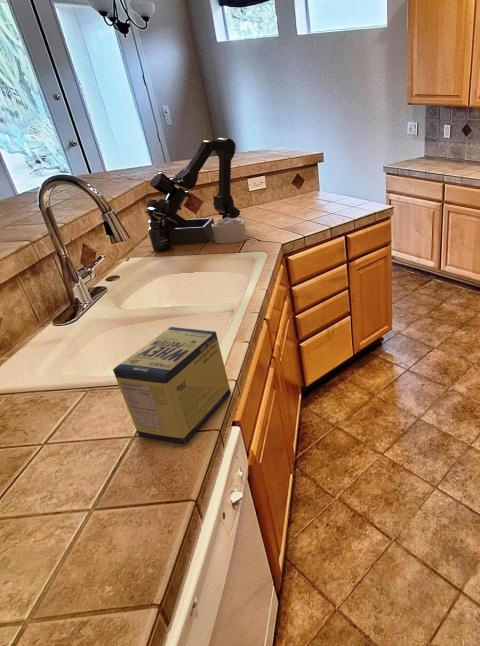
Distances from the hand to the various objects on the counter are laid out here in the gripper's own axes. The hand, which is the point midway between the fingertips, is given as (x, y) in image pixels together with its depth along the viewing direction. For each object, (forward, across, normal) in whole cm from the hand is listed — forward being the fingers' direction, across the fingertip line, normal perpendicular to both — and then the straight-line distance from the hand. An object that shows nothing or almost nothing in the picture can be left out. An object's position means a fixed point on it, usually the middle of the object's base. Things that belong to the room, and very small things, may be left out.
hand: (155, 235), depth 171 cm
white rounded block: (-12, +13, +22) cm, 29 cm away
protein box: (+43, +99, -33) cm, 113 cm away
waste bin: (-8, -3, +17) cm, 19 cm away
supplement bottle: (+4, 0, +6) cm, 7 cm away
